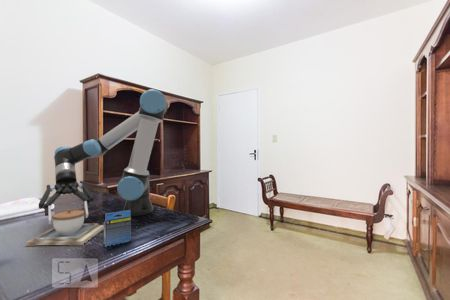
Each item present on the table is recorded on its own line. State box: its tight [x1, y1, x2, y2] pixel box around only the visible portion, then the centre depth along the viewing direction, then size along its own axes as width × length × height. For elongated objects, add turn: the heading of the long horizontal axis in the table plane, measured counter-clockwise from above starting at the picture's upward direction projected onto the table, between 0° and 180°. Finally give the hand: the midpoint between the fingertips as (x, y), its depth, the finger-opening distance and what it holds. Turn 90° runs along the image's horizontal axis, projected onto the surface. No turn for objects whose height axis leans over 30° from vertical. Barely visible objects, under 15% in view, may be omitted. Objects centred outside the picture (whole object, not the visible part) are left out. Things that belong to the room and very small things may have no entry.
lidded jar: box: [51, 208, 85, 235], centre depth 92 cm, size 11×11×9 cm
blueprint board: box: [25, 222, 104, 247], centre depth 92 cm, size 20×17×2 cm
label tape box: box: [103, 210, 132, 248], centre depth 86 cm, size 9×4×12 cm, turn 126°
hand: (69, 219), depth 90 cm, fingers open, 11 cm apart
